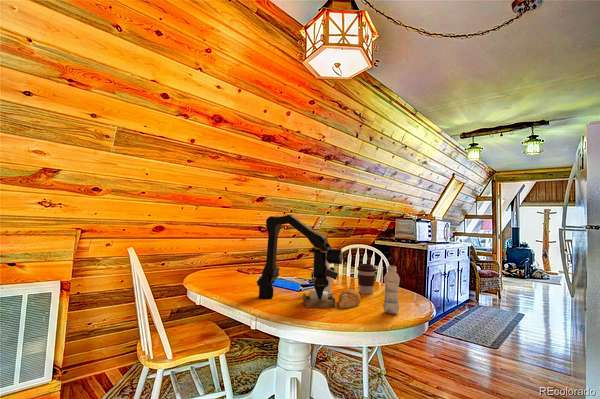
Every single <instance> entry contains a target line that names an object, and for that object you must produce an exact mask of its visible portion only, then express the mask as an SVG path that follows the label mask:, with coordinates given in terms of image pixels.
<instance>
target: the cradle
mask: <svg viewBox="0 0 600 399" xmlns="http://www.w3.org/2000/svg"><path fill="white" fill-rule="evenodd" d="M302 304H303V308H336V297H335V295H334V294H333V293H331V294H330V295H328V300H310V299H309V295H306V293H305V292H304V293H303V294H302Z"/></svg>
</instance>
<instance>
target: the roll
mask: <svg viewBox="0 0 600 399" xmlns="http://www.w3.org/2000/svg"><path fill="white" fill-rule="evenodd" d="M308 296H309V299H310V300H319V299H318V296H317V293H316V291H315V290H310V291H309V295H308ZM328 296H329V295H328V292H327V291H323V294H322V298H321V300H328Z"/></svg>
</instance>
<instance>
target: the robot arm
mask: <svg viewBox="0 0 600 399" xmlns="http://www.w3.org/2000/svg"><path fill="white" fill-rule="evenodd" d="M288 224H289V225H290V226H291V227H293V228H294V229H295V230H296V231H297V232H299V233H300V234H302V236H305V237H306V238H307V240H308V241H309V243H310V244H311V245H312V246H313V247H312V248H311V249H310V250H309V253H312V254H313V264H312V267H313V270H312V272H311V273H310V277H311V281H312V285H313V288H314V291H316V293H317V296H318V299H319V300H321V298H322V294H323V291H324V288H325V287H327V286H328V283H329V281H328V279H327V278H326V277H327V276H328V277H331V278H332V280H335V281H336V280H337V278H338V276H339V272H338V271H336V270H335V268H334V267H332V266H331V267H330V268H327V266H326V260H327V262H328V263H329V264H330V265H331V264H332V265H339V266H340V265H342V264H343V262H344V261H343V259H344V255H343V252H342V248H341V249H340V248H339V249H336V248H332V246H331V245H330V244H329V242H328V237H327V236H326V235H324V234H322V233H320V232H317V231H315V230H313V229H312V228H310V227H309V226H307V225H306V224H305V223H304V222H302V221H301V220H300V219H299V218H297V217H296V216H294V215H293V214H287V215H282V216H279V215H276V216H274V215H272V216H269V217H267V218H266V220H265V226H266V231H267V235H268V237H267V246H266V249H267V250H266V259H265V260H266V263H265V265H264V266H263V269H262V273H261V277H259V279H258V280H256V285H257V287H258V299H260V300H261V299H262V300H265V299H266V300H269V299H270V300H272V299H273V297H274V287H273V284H274V283H275V282H276V280H277V279H278V278H279V276H280V266H279V267H277V251H278V240H279V234H280V231H281V229H282V226H284V225H288Z"/></svg>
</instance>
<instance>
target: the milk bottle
mask: <svg viewBox="0 0 600 399" xmlns="http://www.w3.org/2000/svg"><path fill="white" fill-rule="evenodd" d="M326 266H327V268H330V267H332V266H331V264H329V263H328V262H327V260H326ZM326 278H327V279H328V281H329V283H328V286H327V287H325V288H324V291H327V292H328V296H330V295H331V294H332V289H333V288H332V284H333V283H332V282H333V278H331V277H328V276H327V277H326Z"/></svg>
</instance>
